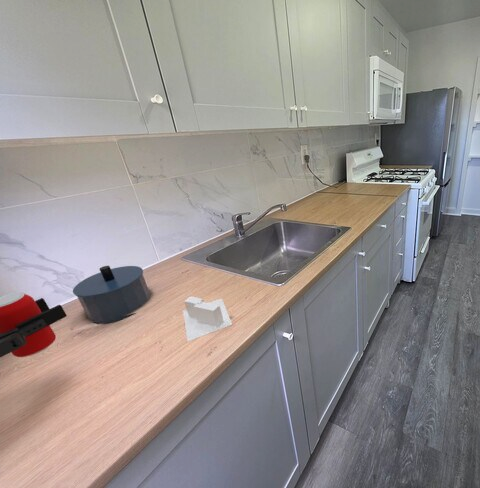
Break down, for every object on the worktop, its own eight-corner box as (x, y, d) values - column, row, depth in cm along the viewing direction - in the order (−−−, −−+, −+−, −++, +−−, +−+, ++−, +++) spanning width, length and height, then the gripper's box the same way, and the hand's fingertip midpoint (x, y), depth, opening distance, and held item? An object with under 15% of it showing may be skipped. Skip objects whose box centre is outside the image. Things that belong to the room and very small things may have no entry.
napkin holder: (233, 324, 72) (228, 307, 70) (187, 341, 67) (181, 323, 64) (221, 297, 84) (217, 282, 81) (182, 311, 79) (176, 295, 76)
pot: (79, 330, 73) (63, 301, 70) (102, 299, 87) (91, 274, 83) (143, 315, 78) (132, 288, 74) (156, 288, 91) (147, 264, 88)
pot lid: (61, 305, 69) (52, 288, 67) (90, 275, 84) (83, 261, 82) (134, 290, 74) (127, 274, 72) (150, 264, 88) (145, 251, 86)
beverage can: (59, 333, 57) (31, 286, 52) (57, 349, 53) (26, 299, 48) (18, 348, 54) (-16, 299, 49) (13, 366, 49) (-25, 314, 44)
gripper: (-154, 402, 41) (39, 311, 60) (-120, 453, 34) (88, 332, 53) (-195, 367, 38) (22, 283, 57) (-167, 415, 31) (71, 301, 50)
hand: (54, 307), depth 55 cm, fingers closed on beverage can, 6 cm apart
